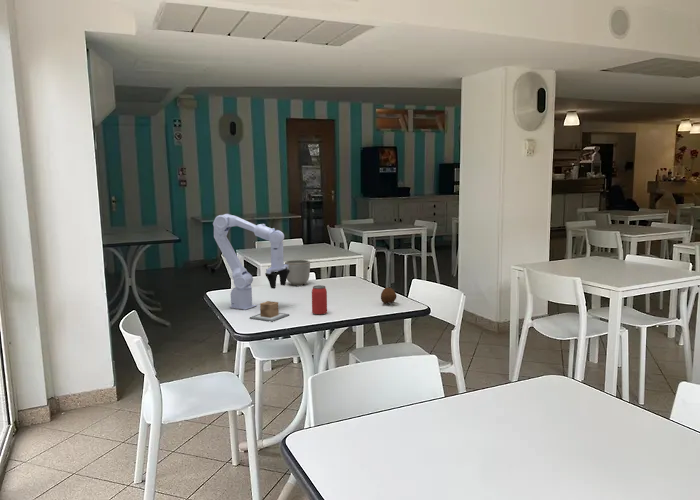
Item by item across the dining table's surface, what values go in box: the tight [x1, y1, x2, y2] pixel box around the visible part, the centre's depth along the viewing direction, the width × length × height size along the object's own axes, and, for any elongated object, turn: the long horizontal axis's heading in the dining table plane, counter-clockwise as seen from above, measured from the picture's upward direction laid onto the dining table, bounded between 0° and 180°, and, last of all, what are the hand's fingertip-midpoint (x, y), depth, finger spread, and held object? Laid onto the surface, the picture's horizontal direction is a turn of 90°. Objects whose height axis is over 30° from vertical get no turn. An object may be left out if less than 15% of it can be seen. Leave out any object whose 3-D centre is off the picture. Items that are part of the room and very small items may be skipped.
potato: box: [380, 287, 397, 305], centre depth 257 cm, size 7×10×8 cm
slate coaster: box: [249, 312, 290, 323], centre depth 236 cm, size 12×12×1 cm
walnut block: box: [259, 300, 280, 318], centre depth 236 cm, size 6×6×6 cm
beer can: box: [311, 284, 328, 316], centre depth 241 cm, size 7×7×12 cm
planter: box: [284, 259, 311, 286], centre depth 304 cm, size 14×14×13 cm
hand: (278, 286), depth 251 cm, fingers open, 7 cm apart
